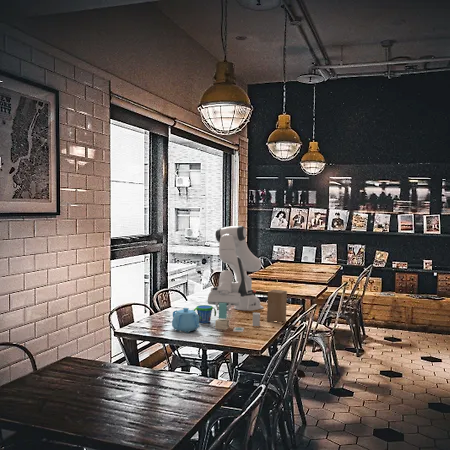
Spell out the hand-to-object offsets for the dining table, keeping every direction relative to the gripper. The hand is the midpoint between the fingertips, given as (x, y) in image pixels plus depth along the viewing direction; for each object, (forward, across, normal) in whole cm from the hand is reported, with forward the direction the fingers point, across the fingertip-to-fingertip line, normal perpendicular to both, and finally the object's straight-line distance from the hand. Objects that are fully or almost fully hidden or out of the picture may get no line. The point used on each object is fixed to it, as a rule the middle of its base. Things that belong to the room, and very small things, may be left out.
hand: (222, 310), depth 314 cm
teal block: (+3, 0, -4) cm, 5 cm away
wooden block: (-10, -34, -27) cm, 44 cm away
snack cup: (-1, +13, -17) cm, 22 cm away
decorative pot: (+15, +22, -1) cm, 26 cm away
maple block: (+8, 0, -8) cm, 11 cm away
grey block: (+1, -21, -15) cm, 26 cm away
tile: (+10, -10, -6) cm, 15 cm away
